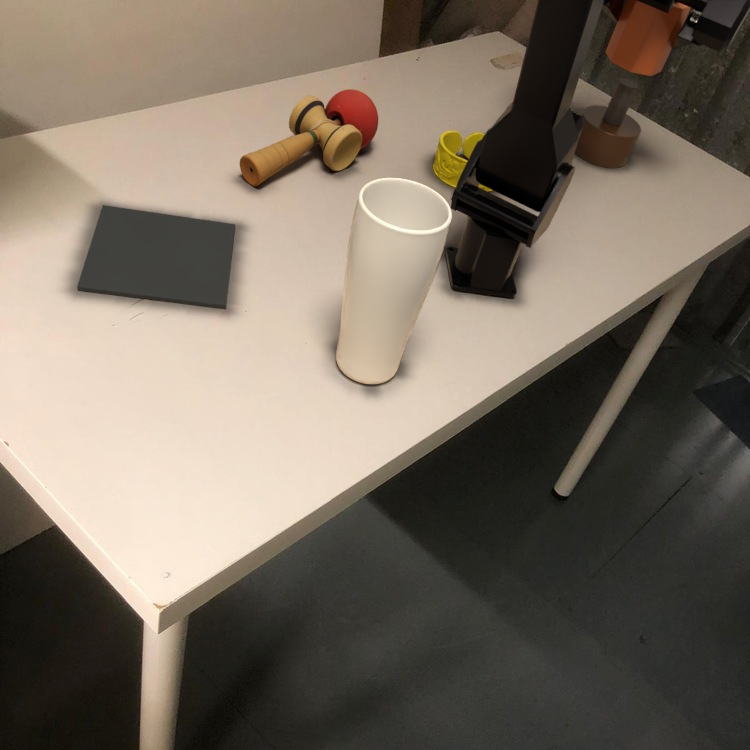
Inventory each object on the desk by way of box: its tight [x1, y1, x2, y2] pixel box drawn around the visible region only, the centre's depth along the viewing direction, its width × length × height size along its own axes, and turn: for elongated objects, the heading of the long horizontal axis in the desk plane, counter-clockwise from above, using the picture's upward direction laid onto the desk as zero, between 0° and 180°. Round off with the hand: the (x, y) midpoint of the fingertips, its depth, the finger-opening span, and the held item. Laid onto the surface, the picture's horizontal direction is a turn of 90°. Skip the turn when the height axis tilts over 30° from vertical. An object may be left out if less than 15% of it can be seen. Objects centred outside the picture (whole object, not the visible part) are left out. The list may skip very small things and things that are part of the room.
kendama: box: [239, 88, 379, 187], centre depth 79 cm, size 8×6×18 cm
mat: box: [76, 204, 236, 310], centre depth 66 cm, size 12×12×1 cm
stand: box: [575, 78, 642, 169], centre depth 92 cm, size 8×8×8 cm
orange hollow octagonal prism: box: [605, 0, 692, 77], centre depth 85 cm, size 6×6×7 cm
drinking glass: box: [335, 177, 453, 385], centre depth 57 cm, size 7×7×15 cm
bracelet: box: [432, 130, 493, 193], centre depth 84 cm, size 7×8×3 cm
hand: (648, 33), depth 86 cm, fingers closed on orange hollow octagonal prism, 7 cm apart
